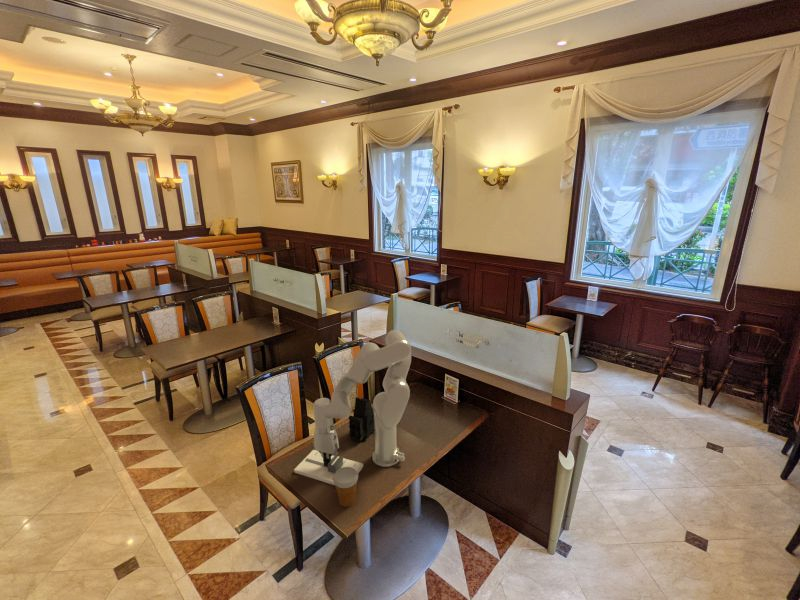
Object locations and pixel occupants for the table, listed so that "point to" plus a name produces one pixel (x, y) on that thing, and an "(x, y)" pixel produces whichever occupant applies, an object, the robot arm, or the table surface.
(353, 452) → the table surface
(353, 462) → the fader console
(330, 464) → the fader knob
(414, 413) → the table surface
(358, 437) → the camera
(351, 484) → the disposable coffee cup
